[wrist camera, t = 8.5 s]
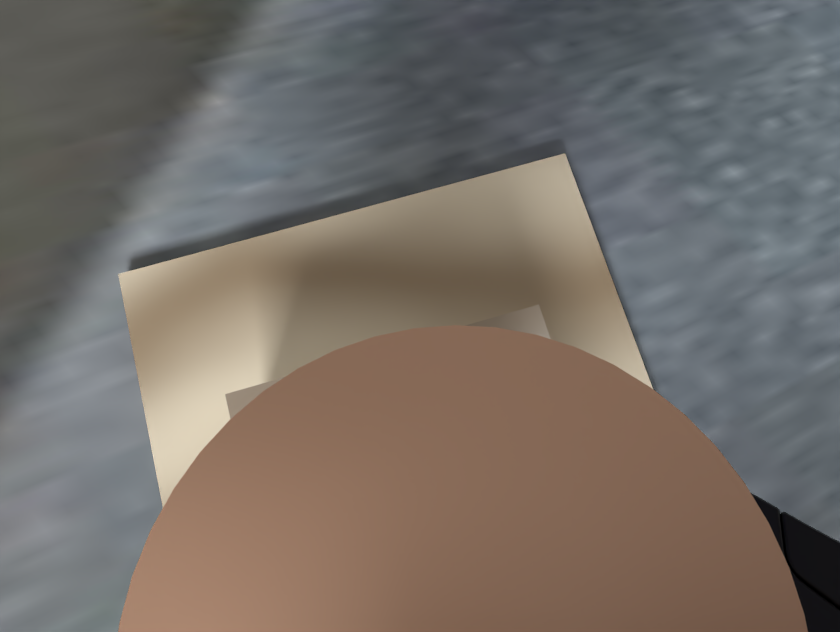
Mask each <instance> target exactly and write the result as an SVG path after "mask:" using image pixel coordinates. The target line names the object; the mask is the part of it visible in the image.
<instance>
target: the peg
mask: <svg viewBox="0 0 840 632" xmlns="http://www.w3.org/2000/svg"><path fill="white" fill-rule="evenodd" d="M118 632H808V630H807V625H806V620H805V615H804V612H803V609H802V606H801V603H800V599H799V596H798V593H797V590H796V587H795V584H794V581H793V578H792V575H791V572H790V569H789V566H788V564H787V562H786V560H785V557H784V555H783V553H782V551H781V549H780V546H779V544H778V542H777V540H776V538H775V535H774V533H773V531H772V529H771V527H770V524H769V523H768V521H767V519H766V518H765V516H764V514H763V513H762V511H761V509H760V508H759V506H758V504H757V503H756V501H755V499H754V498H753V496H752V494H751V493H750V491H749V490H748V488H747V486H746V485H745V483H744V482H743V480H742V479H741V478H740V477H739V475H738V474H737V473H736V471H735V470H734V469H733V468H732V466H731V465H730V464H729V462H728V461H727V460H726V458H725V457H724V456H723V455H722V453H721V452H720V451H719V449H718V448H717V447H716V446H715V445H714V444H713V443H712V442H711V441H710V440H709V439H708V438H707V437H706V436H705V435H704V434H703V433H702V432H701V431H700V430H699V429H698V428H697V427H696V426H695V425H694V424H693V422H692V421H691V420H690V419H689V418H688V417H687V416H686V415H685V414H683V413H682V412H681V411H680V410H678V409H677V408H676V407H675V406H673V405H672V404H671V403H670V402H668V401H667V400H666V399H665V398H663V397H662V396H661V395H660V394H658V393H657V392H656V391H655V390H653V389H652V388H651V387H649V386H648V385H646V384H644V383H643V382H641V381H640V380H638V379H636V378H635V377H633V376H631V375H630V374H628V373H627V372H625V371H623V370H622V369H620V368H618V367H617V366H615V365H613V364H611V363H609V362H607V361H605V360H603V359H600V358H598V357H596V356H594V355H592V354H590V353H587V352H585V351H583V350H581V349H579V348H576V347H574V346H570V345H567V344H564V343H561V342H558V341H555V340H551V339H548V338H545V337H542V336H539V335H535V334H530V333H524V332H519V331H513V330H508V329H502V328H497V327H480V326H461V325H451V326H437V327H424V328H413V329H408V330H403V331H399V332H394V333H389V334H384V335H379V336H374V337H371V338H369V339H366V340H363V341H360V342H357V343H354V344H351V345H348V346H345V347H342V348H339V349H337V350H334V351H332V352H330V353H328V354H326V355H324V356H322V357H320V358H318V359H316V360H314V361H312V362H310V363H308V364H306V365H304V366H302V367H300V368H298V369H296V370H295V371H293V372H292V373H290V374H289V375H287V376H286V377H284V378H283V379H281V380H280V381H278V382H277V383H275V384H274V385H272V386H270V387H269V388H267V389H266V390H264V391H263V392H262V393H260V394H259V395H258V396H257V397H256V398H255V399H253V400H252V401H251V402H250V403H249V404H248V405H246V406H245V407H244V408H243V409H242V410H241V411H239V412H238V413H237V414H236V415H235V416H234V417H232V418H231V419H230V420H229V421H228V422H227V423H226V424H225V425H224V427H223V428H222V429H221V430H220V431H219V432H218V433H217V434H216V435H215V436H214V437H213V439H212V440H211V441H210V442H209V443H208V444H207V445H206V446H205V447H204V448H203V450H202V451H201V452H200V453H199V454H198V456H197V457H196V458H195V460H194V461H193V463H192V464H191V465H190V467H189V468H188V470H187V471H186V472H185V474H184V475H183V477H182V478H181V479H180V481H179V482H178V484H177V485H176V486H175V488H174V489H173V491H172V493H171V494H170V496H169V498H168V500H167V502H166V504H165V505H164V507H163V509H162V511H161V513H160V514H159V516H158V518H157V520H156V522H155V524H154V525H153V527H152V529H151V531H150V533H149V536H148V538H147V541H146V543H145V546H144V548H143V551H142V553H141V556H140V558H139V561H138V563H137V566H136V568H135V571H134V573H133V576H132V579H131V583H130V586H129V590H128V594H127V597H126V601H125V605H124V608H123V612H122V616H121V619H120V623H119V630H118Z"/></svg>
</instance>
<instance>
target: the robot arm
mask: <svg viewBox="0 0 840 632" xmlns="http://www.w3.org/2000/svg"><path fill="white" fill-rule="evenodd" d="M751 494H752V493H751ZM752 496H753V498H754V499H755V501H756V503H757V504H758V506H759V508H760V509H761V511H762V513H763V514H764V516H765V518H766V519H767V521H768V523H769V524H770V527H771V529H772V531H773V533H774V535H775V538H776V540H777V542H778V544H779V546H780V549H781V551H782V553H783V555H784V557H785V560H786V562H787V564H788V566H789V569H790V572H791V575H792V578H793V581H794V584H795V587H796V590H797V593H798V596H799V599H800V603H801V606H802V609H803V612H804V615H805V620H806V625H807V630H808V632H840V542H838V541H836V540H835V539H833V538H831V537H829V536H827V535H825V534H823V533H822V532H820V531H818V530H816V529H814V528H812V527H811V526H809V525H807V524H805V523H804V522H802V521H800V520H798V519H796V518H795V517H793V516H791V515H789V514H788V513H786V512H782V513H781V514H780V510H779V509H778V508H777V507H775V506H773V505H771V504H770V503H768V502H766V501H764V500H763V499H761V498H759V497H757V496H756V495H754V494H752Z"/></svg>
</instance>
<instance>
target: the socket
mask: <svg viewBox="0 0 840 632" xmlns="http://www.w3.org/2000/svg"><path fill="white" fill-rule="evenodd" d="M118 275H119V280H120V286H121V291H122V296H123V301H124V307H125V312H126V317H127V322H128V327H129V333H130V338H131V343H132V348H133V354H134V359H135V364H136V369H137V375H138V380H139V385H140V390H141V395H142V401H143V406H144V411H145V416H146V422H147V427H148V432H149V437H150V443H151V448H152V453H153V458H154V463H155V469H156V474H157V479H158V484H159V490H160V495H161V500H162V505H163V507H164V505H165V504H166V502H167V500H168V498H169V496H170V494H171V493H172V491H173V489H174V488H175V486H176V485H177V484H178V482H179V481H180V479H181V478H182V477H183V475H184V474H185V472H186V471H187V470H188V468H189V467H190V465H191V464H192V463H193V461H194V460H195V458H196V457H197V456H198V454H199V453H200V452H201V451H202V450H203V448H204V447H205V446H206V445H207V444H208V443H209V442H210V441H211V440H212V439H213V437H214V436H215V435H216V434H217V433H218V432H219V431H220V430H221V429H222V428H223V427H224V425H225V424H226V423H227V422H228V421H229V420H230V419H231V418H232V417H234V416H235V415H236V414H237V413H238V412H239V411H241V410H242V409H243V408H244V407H245V406H246V405H248V404H249V403H250V402H251V401H252V400H253V399H255V398H256V397H257V396H258V395H259V394H260V393H262V392H263V391H264V390H266V389H267V388H269V387H270V386H272V385H274V384H275V383H277V382H278V381H280V380H281V379H283V378H284V377H286V376H287V375H289V374H290V373H292V372H293V371H295V370H296V369H298V368H300V367H302V366H304V365H306V364H308V363H310V362H312V361H314V360H316V359H318V358H320V357H322V356H324V355H326V354H328V353H330V352H332V351H334V350H337V349H339V348H342V347H345V346H348V345H351V344H354V343H357V342H360V341H363V340H366V339H369V338H371V337H374V336H379V335H384V334H389V333H394V332H399V331H403V330H408V329H413V328H424V327H437V326H451V325H461V326H480V327H497V328H502V329H508V330H513V331H519V332H524V333H530V334H535V335H539V336H542V337H545V338H548V339H551V340H555V341H558V342H561V343H564V344H567V345H570V346H574V347H576V348H579V349H581V350H583V351H585V352H587V353H590V354H592V355H594V356H596V357H598V358H600V359H603V360H605V361H607V362H609V363H611V364H613V365H615V366H617V367H618V368H620V369H622V370H623V371H625V372H627V373H628V374H630V375H631V376H633V377H635V378H636V379H638V380H640V381H641V382H643V383H644V384H646V385H648V386H649V387H651V388H652V389H653V387H652V385H651V382H650V379H649V377H648V374H647V371H646V369H645V366H644V363H643V361H642V358H641V355H640V353H639V350H638V347H637V345H636V342H635V339H634V337H633V334H632V331H631V329H630V326H629V323H628V321H627V318H626V315H625V313H624V310H623V307H622V304H621V302H620V299H619V296H618V294H617V291H616V288H615V286H614V283H613V280H612V278H611V275H610V272H609V270H608V267H607V264H606V262H605V259H604V256H603V254H602V251H601V248H600V246H599V243H598V240H597V238H596V235H595V232H594V230H593V227H592V224H591V222H590V219H589V216H588V213H587V211H586V208H585V205H584V203H583V200H582V197H581V195H580V192H579V189H578V187H577V184H576V181H575V179H574V176H573V173H572V171H571V168H570V165H569V163H568V160H567V157H566V155H565V153H564V154H560V155H557V156H553V157H549V158H546V159H542V160H538V161H534V162H531V163H527V164H523V165H520V166H516V167H512V168H509V169H505V170H501V171H497V172H494V173H490V174H486V175H483V176H479V177H475V178H472V179H468V180H464V181H461V182H457V183H453V184H449V185H446V186H442V187H438V188H435V189H431V190H427V191H424V192H420V193H416V194H413V195H409V196H405V197H401V198H398V199H394V200H390V201H387V202H383V203H379V204H376V205H372V206H368V207H365V208H361V209H357V210H353V211H350V212H346V213H342V214H339V215H335V216H331V217H328V218H324V219H320V220H316V221H313V222H309V223H305V224H302V225H298V226H294V227H291V228H287V229H283V230H280V231H276V232H272V233H268V234H265V235H261V236H257V237H254V238H250V239H246V240H243V241H239V242H235V243H232V244H228V245H224V246H220V247H217V248H213V249H209V250H206V251H202V252H198V253H195V254H191V255H187V256H184V257H180V258H176V259H172V260H169V261H165V262H161V263H158V264H154V265H150V266H147V267H143V268H139V269H135V270H132V271H128V272H124V273H121V274H118Z"/></svg>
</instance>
